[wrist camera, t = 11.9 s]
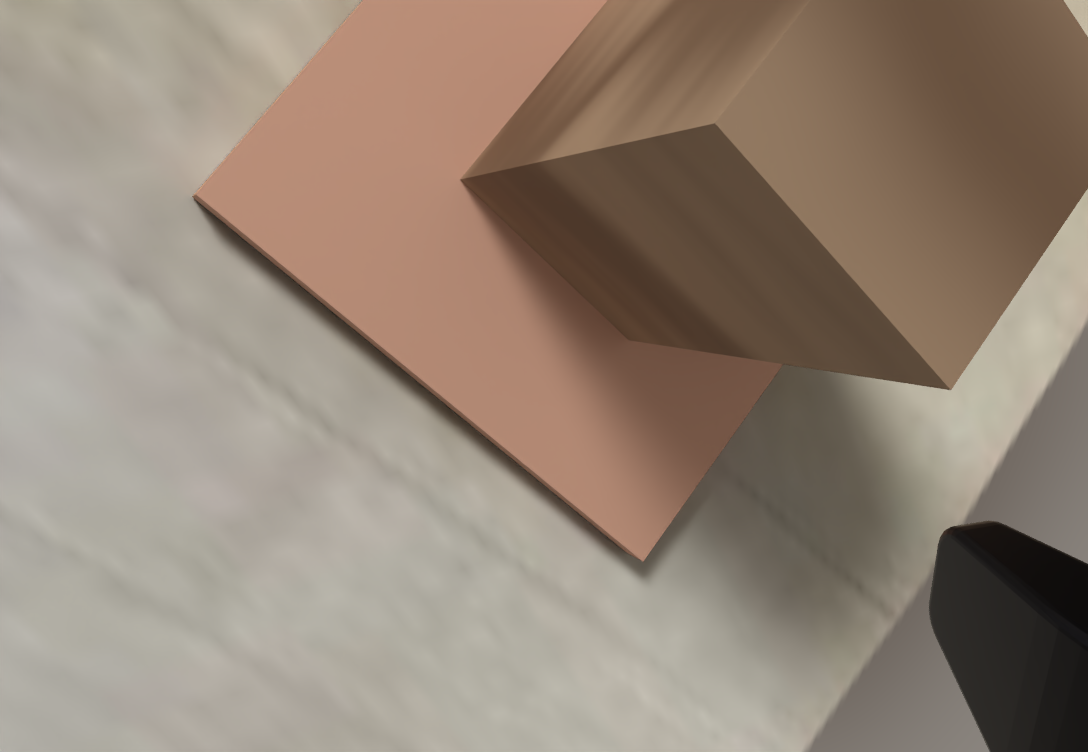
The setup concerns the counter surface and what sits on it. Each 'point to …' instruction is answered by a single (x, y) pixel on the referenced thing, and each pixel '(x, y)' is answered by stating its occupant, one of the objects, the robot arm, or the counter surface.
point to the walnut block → (802, 173)
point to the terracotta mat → (472, 257)
